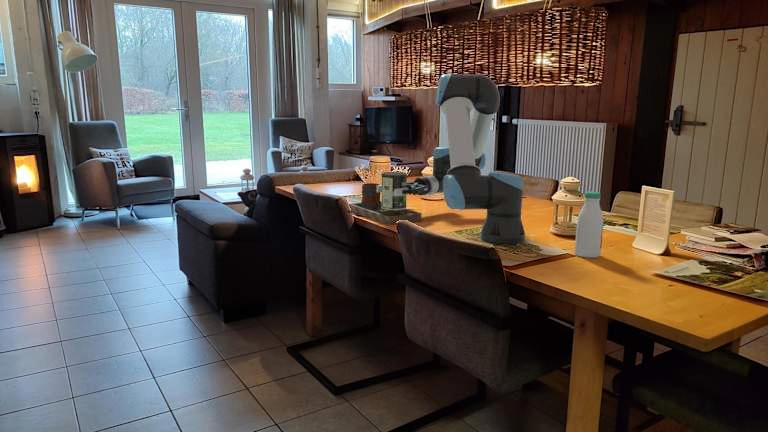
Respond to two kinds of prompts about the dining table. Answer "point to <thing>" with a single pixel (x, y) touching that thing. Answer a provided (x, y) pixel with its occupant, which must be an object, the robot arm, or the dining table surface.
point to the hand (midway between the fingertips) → (386, 190)
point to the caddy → (386, 214)
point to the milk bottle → (589, 227)
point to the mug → (370, 197)
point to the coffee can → (393, 190)
